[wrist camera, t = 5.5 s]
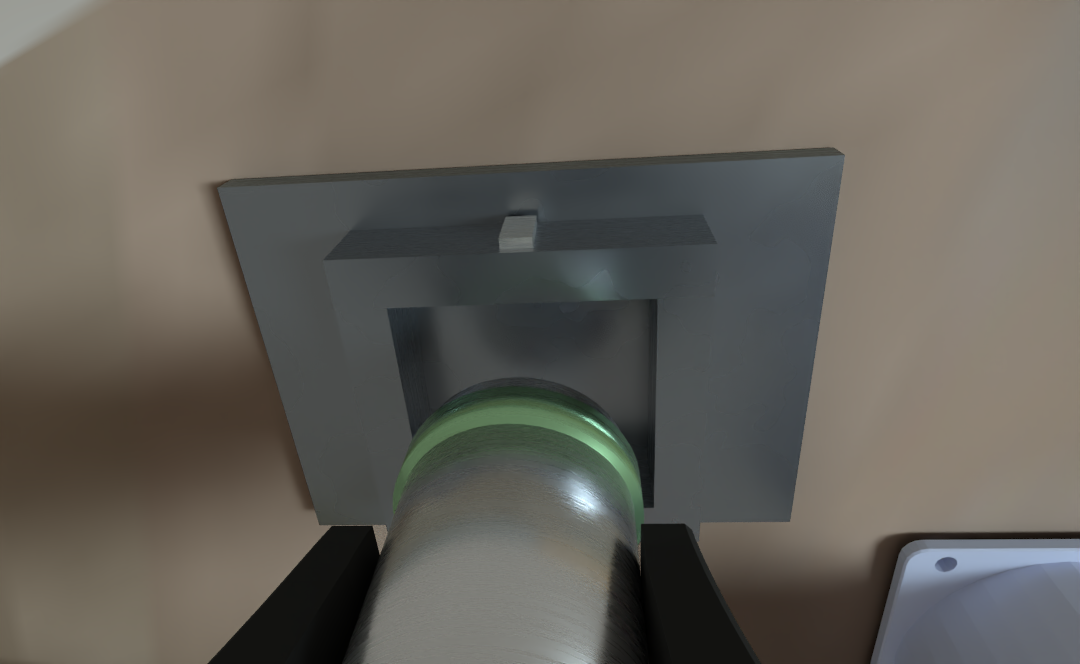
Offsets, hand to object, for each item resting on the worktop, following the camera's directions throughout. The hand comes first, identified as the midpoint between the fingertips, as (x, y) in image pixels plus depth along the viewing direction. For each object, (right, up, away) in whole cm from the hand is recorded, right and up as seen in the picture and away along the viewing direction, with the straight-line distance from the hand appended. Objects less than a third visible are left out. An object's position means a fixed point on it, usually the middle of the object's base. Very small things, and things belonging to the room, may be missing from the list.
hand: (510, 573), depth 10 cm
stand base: (0, +3, +5) cm, 6 cm away
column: (0, +1, +2) cm, 2 cm away
